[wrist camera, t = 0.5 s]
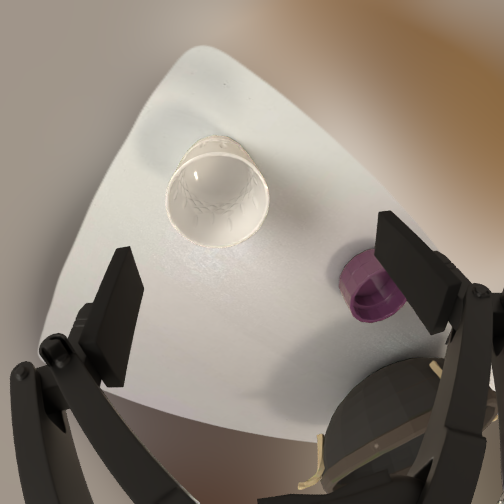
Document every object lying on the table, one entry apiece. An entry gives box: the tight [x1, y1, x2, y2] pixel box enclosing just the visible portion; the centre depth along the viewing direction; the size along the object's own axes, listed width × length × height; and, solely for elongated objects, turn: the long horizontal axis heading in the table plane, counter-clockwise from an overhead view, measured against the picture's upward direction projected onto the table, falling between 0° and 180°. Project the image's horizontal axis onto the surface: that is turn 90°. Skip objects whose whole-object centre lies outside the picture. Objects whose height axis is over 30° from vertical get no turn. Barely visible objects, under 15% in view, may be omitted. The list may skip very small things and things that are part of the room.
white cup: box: [165, 135, 270, 248], centre depth 28 cm, size 8×8×10 cm
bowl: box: [298, 358, 498, 494], centre depth 49 cm, size 35×35×20 cm
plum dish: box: [339, 249, 407, 323], centre depth 40 cm, size 9×9×5 cm
